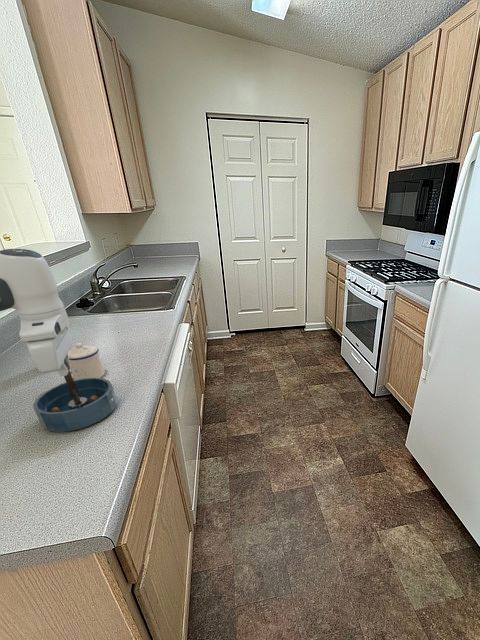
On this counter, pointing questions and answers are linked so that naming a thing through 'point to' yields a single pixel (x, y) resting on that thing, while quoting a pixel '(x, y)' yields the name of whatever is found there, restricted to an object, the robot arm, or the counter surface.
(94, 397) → the bead
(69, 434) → the counter surface
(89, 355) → the teacup with lid
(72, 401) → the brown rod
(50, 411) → the bead
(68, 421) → the bowl
